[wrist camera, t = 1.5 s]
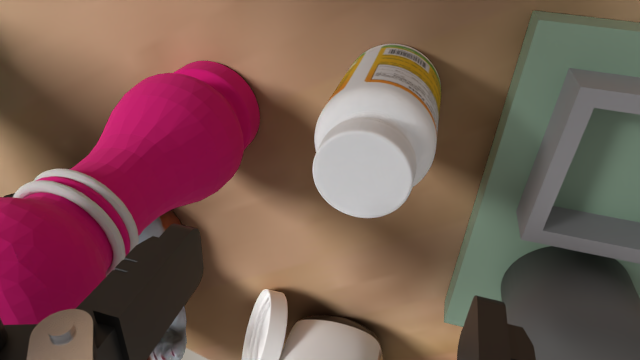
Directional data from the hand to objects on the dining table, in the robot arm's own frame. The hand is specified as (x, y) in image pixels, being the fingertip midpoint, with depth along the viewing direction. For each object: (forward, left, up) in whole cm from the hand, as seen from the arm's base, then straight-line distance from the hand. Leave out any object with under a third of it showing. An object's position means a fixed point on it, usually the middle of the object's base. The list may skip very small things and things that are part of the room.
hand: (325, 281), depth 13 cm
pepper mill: (+3, -11, -16) cm, 19 cm away
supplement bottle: (0, 0, -16) cm, 16 cm away
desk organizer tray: (+5, +12, -15) cm, 20 cm away
